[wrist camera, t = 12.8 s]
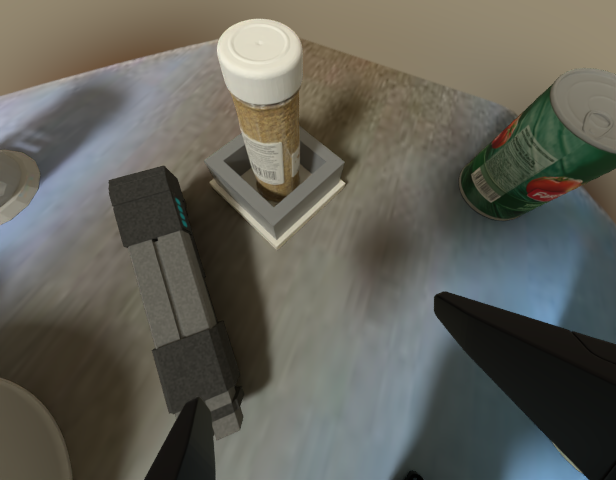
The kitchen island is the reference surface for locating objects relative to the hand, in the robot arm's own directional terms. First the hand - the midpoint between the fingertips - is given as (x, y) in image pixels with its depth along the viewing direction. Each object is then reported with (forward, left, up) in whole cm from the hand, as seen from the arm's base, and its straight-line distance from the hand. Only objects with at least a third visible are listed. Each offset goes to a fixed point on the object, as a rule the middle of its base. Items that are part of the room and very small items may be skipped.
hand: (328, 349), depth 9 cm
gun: (+10, +5, -14) cm, 18 cm away
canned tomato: (-4, -25, -14) cm, 29 cm away
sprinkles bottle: (+13, -8, -13) cm, 20 cm away
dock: (+13, -8, -14) cm, 20 cm away
